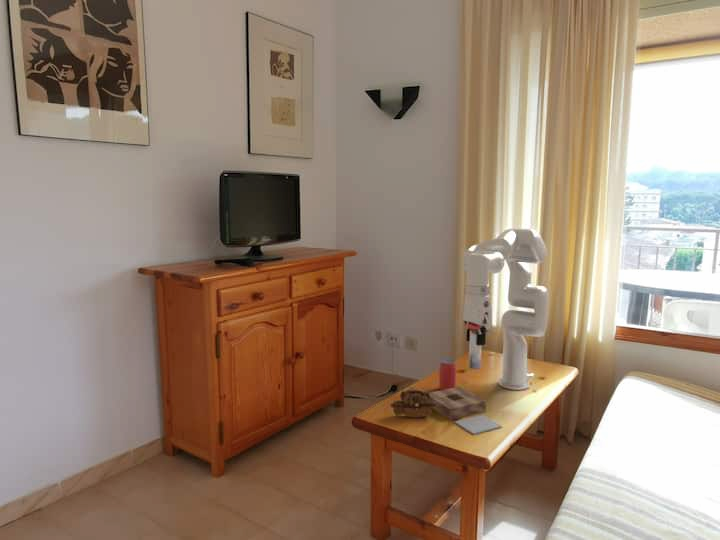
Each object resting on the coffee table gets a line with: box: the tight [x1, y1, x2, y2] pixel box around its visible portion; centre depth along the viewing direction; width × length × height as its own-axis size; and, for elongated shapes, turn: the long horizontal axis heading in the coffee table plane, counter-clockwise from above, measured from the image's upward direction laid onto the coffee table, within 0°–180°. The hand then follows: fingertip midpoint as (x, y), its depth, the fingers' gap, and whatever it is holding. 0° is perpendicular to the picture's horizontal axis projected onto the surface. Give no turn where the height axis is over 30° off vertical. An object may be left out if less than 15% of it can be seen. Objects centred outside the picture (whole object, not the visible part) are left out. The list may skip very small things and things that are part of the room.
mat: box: [454, 414, 503, 436], centre depth 177 cm, size 12×10×1 cm
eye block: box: [428, 386, 487, 421], centre depth 192 cm, size 16×16×4 cm
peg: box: [465, 323, 484, 370], centre depth 176 cm, size 7×7×15 cm
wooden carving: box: [390, 387, 437, 419], centre depth 184 cm, size 16×5×10 cm, turn 95°
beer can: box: [438, 358, 457, 391], centre depth 209 cm, size 7×7×12 cm
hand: (475, 342), depth 176 cm, fingers closed on peg, 4 cm apart
